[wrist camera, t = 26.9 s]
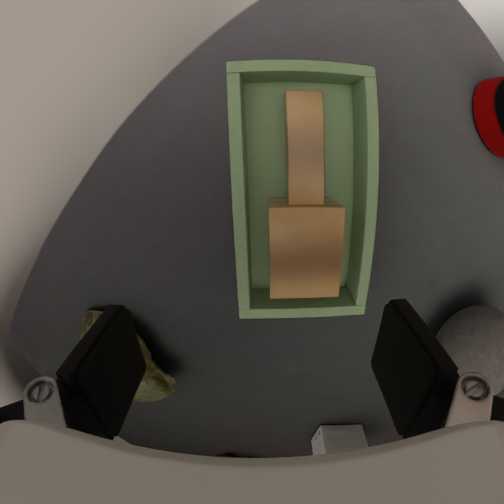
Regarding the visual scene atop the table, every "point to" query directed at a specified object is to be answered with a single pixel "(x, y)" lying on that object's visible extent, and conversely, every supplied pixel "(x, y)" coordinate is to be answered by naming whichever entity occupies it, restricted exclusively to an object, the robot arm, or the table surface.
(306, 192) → the brush
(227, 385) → the table surface
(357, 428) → the cosmetic box
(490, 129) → the soda can
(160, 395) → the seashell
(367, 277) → the bin
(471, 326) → the decorative ball
